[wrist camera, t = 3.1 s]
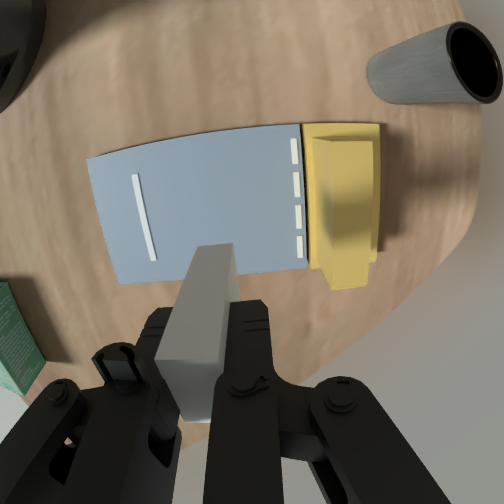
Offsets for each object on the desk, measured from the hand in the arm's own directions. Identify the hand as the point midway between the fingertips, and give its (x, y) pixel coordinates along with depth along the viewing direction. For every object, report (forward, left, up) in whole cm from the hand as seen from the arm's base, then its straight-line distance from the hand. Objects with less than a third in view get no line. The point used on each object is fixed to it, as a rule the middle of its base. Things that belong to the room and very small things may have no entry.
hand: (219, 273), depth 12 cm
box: (+11, -32, -11) cm, 36 cm away
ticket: (0, -3, -10) cm, 10 cm away
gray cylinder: (-10, +13, -10) cm, 20 cm away
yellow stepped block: (0, +8, -10) cm, 13 cm away
